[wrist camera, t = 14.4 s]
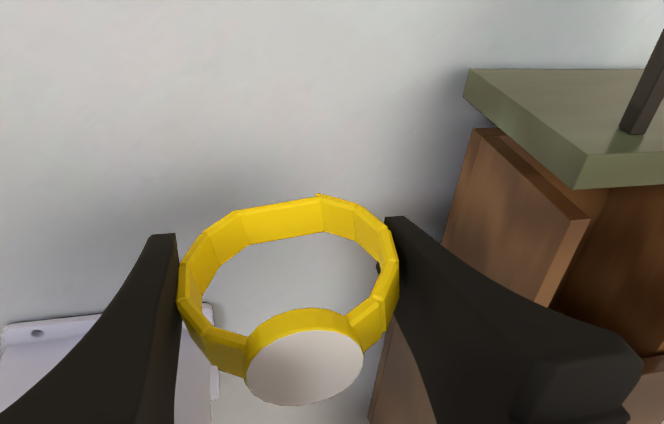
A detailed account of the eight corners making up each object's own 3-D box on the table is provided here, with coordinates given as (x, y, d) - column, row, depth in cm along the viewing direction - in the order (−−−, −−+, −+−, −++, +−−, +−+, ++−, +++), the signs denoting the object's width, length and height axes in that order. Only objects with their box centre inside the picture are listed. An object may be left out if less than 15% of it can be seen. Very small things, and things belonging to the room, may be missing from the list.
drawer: (504, -73, 16) (674, -40, 11) (736, -54, 19) (976, -18, 13) (406, 315, 27) (463, 435, 22) (560, 296, 30) (647, 398, 24)
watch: (362, 161, 15) (440, 296, 10) (367, 228, 17) (436, 371, 12) (170, 203, 14) (160, 368, 9) (196, 269, 16) (197, 438, 11)
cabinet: (403, 254, 26) (484, 404, 18) (583, 236, 28) (714, 362, 21) (367, 416, 35) (412, 560, 27) (506, 392, 37) (581, 516, 30)
